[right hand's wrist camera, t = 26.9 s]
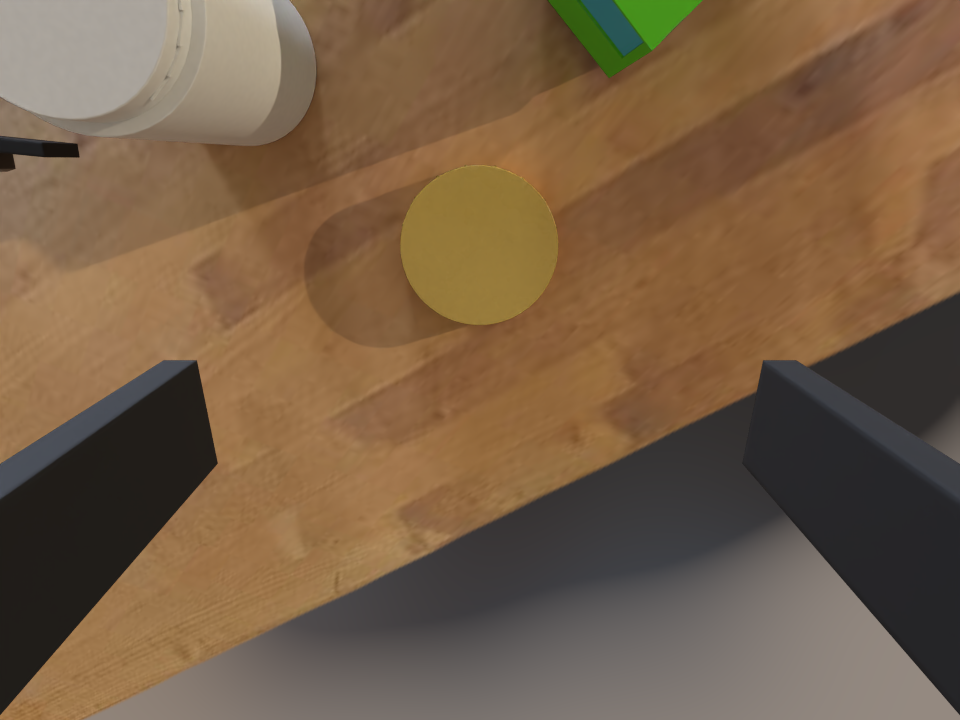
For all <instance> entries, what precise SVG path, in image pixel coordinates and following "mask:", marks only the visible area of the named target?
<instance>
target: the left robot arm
mask: <svg viewBox="0 0 960 720" xmlns="http://www.w3.org/2000/svg"><path fill="white" fill-rule="evenodd" d="M13 154H18V155H28V156H38V157H79V151H78V144H74V143H64V142H55V141H45V140H35V139H25V138H15V137H6V136H0V172H7V171H10V170H13V169H15V164H14V159H13Z"/></svg>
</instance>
